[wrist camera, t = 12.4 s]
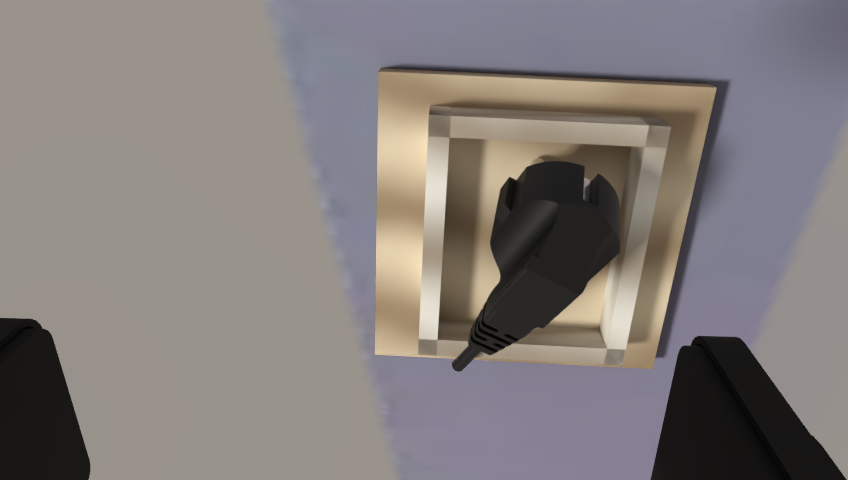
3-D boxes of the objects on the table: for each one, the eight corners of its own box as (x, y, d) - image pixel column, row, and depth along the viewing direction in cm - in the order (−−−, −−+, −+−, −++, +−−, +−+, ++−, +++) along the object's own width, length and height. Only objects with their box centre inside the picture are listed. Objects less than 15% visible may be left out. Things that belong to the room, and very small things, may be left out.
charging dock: (380, 68, 31) (374, 78, 28) (708, 83, 31) (734, 96, 28) (376, 344, 37) (371, 375, 35) (647, 358, 37) (663, 390, 35)
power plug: (406, 357, 33) (525, 216, 24) (435, 252, 38) (541, 106, 29) (502, 399, 33) (650, 277, 25) (517, 291, 39) (644, 159, 30)
